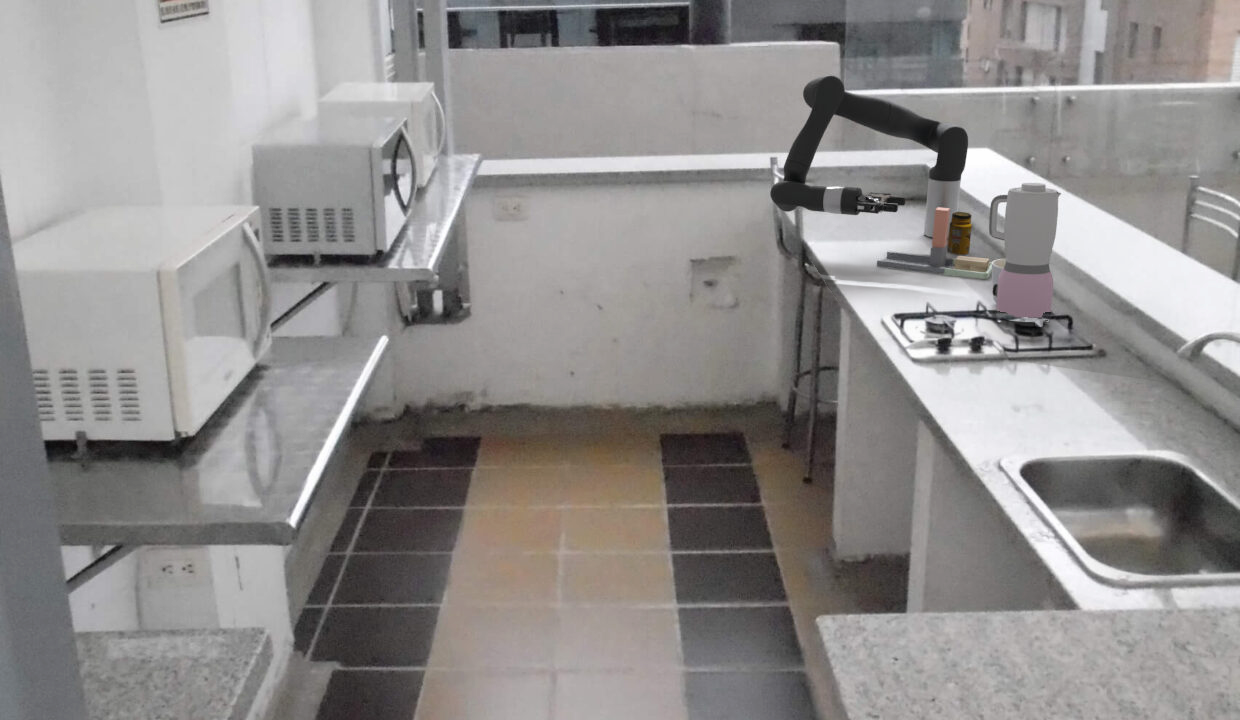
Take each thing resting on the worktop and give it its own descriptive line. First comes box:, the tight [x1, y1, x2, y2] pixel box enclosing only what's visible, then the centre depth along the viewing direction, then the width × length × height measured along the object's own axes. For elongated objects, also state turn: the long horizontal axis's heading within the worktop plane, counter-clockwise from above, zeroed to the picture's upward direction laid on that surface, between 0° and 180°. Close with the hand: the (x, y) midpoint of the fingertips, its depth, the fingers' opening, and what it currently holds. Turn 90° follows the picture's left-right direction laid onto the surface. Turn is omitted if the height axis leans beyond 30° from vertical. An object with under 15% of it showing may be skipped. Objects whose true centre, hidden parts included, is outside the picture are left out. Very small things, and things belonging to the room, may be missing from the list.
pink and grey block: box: [929, 207, 950, 267], centre depth 316 cm, size 6×3×16 cm, turn 153°
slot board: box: [876, 250, 955, 275], centre depth 321 cm, size 12×18×2 cm, turn 64°
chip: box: [970, 256, 990, 273], centre depth 314 cm, size 4×4×4 cm
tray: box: [943, 257, 993, 280], centre depth 315 cm, size 12×11×2 cm
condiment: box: [947, 211, 973, 255], centre depth 333 cm, size 7×8×12 cm
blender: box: [988, 182, 1062, 321], centre depth 273 cm, size 16×12×32 cm
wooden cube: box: [954, 255, 975, 271], centre depth 315 cm, size 4×4×4 cm
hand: (901, 204), depth 320 cm, fingers open, 8 cm apart
